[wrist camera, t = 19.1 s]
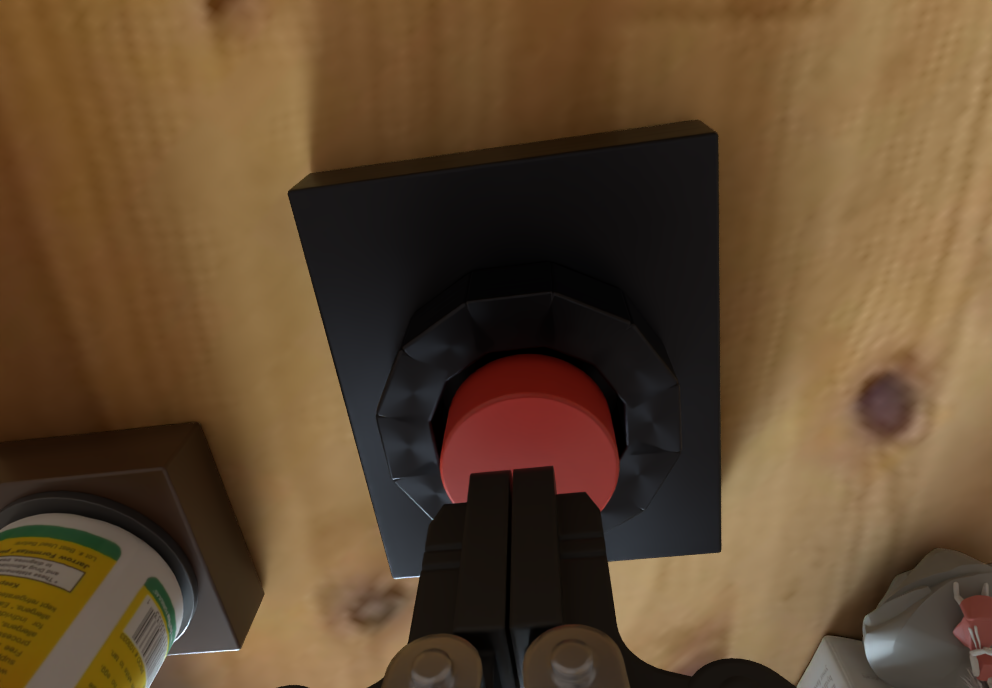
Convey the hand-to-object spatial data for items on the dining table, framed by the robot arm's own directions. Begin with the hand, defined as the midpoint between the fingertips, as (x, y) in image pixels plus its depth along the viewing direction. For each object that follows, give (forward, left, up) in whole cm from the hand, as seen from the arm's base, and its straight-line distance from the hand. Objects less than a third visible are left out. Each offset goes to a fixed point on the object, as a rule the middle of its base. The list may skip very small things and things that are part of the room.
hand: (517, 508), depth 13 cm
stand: (+4, -12, -6) cm, 14 cm away
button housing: (0, 0, -6) cm, 6 cm away
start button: (0, 0, -3) cm, 3 cm away
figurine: (+9, +11, -6) cm, 16 cm away
